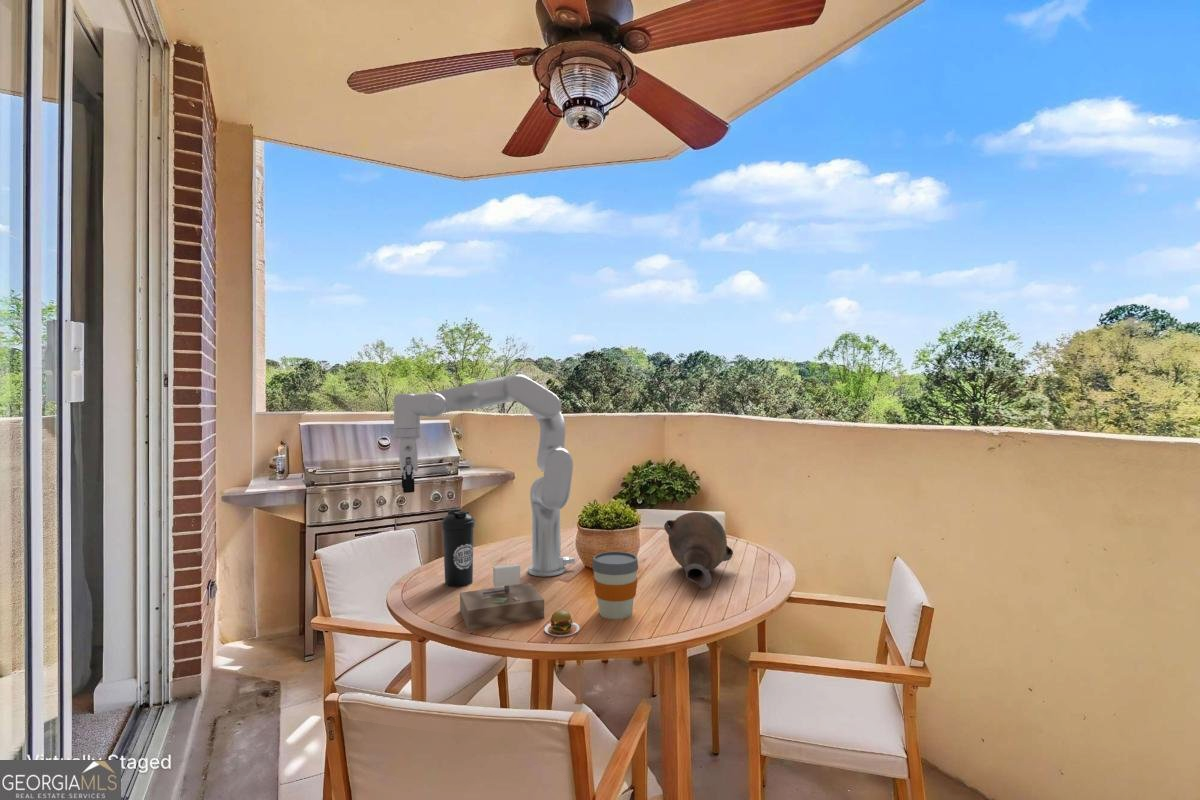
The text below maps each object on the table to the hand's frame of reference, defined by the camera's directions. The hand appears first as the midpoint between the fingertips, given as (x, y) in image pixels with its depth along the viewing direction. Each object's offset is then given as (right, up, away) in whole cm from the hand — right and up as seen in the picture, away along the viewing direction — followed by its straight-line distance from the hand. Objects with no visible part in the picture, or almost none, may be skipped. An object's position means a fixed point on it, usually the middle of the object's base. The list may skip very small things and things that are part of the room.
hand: (408, 489), depth 172 cm
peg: (+32, -25, -17) cm, 44 cm away
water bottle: (+14, -31, +7) cm, 34 cm away
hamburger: (+49, -32, -30) cm, 65 cm away
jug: (+90, -30, +12) cm, 96 cm away
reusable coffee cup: (+63, -31, -19) cm, 72 cm away
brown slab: (+32, -31, -19) cm, 48 cm away
